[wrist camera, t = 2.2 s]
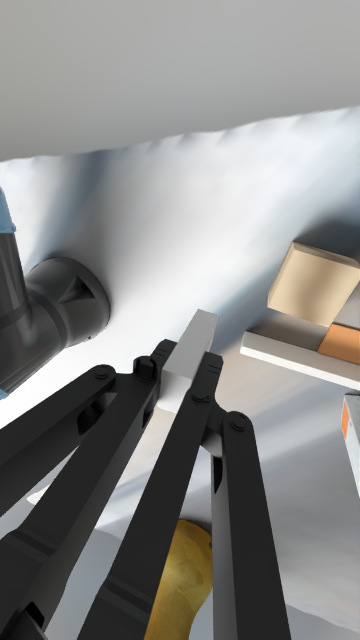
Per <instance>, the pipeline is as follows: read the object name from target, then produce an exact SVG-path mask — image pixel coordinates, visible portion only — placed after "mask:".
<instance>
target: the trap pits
mask: <svg viewBox="0 0 360 640" xmlns="http://www.w3.org/2000/svg"><path fill="white" fill-rule="evenodd" d="M317 352H319V353H322V354H326V355H329V356H332V357H336V358H339V359H343V360H346V361H350V362H353V363H356V364H360V331H359V330H356V329H352V328H348V327H345V326H341V325H337V324H333V323H332V325H331V327H330V328H329V330H328V332H327V334H326V335H325V337H324V339H323V341H322V343H321V344H320V346H319V348H318V350H317Z"/></svg>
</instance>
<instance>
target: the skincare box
mask: <svg viewBox="0 0 360 640" xmlns="http://www.w3.org/2000/svg"><path fill="white" fill-rule="evenodd" d="M340 423H341V426H342V431H343V435H344V439H345V442H346V446H347V450H348V454H349V458H350V462H351V466H352V470H353V473H354V477H355V481H356V485H357V489H358V493H359V497H360V396H354V395H344V402H343V410H342V416H341V422H340Z"/></svg>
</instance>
